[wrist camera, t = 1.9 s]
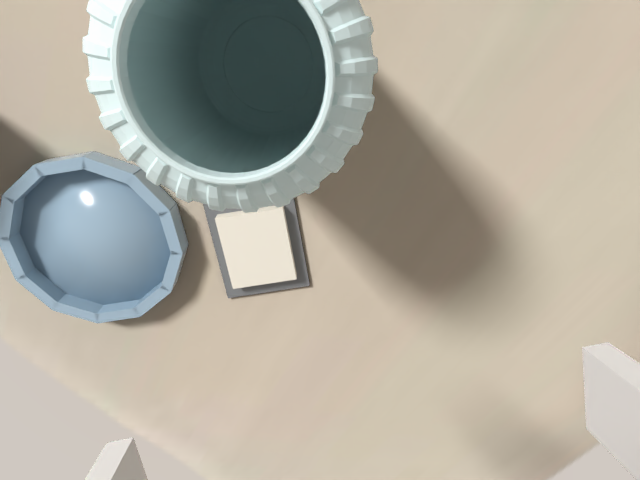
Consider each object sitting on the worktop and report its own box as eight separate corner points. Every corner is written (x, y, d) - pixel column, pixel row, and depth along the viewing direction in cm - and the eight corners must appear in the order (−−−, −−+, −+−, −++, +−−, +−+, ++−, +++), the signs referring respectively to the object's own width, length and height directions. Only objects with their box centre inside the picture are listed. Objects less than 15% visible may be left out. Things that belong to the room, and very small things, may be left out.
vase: (237, 158, 39) (161, 273, 18) (170, 22, 35) (-25, -28, 14) (361, 105, 38) (430, 165, 17) (307, -43, 33) (312, -203, 13)
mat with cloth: (203, 199, 40) (199, 204, 39) (291, 184, 40) (291, 190, 38) (228, 296, 44) (226, 304, 42) (309, 283, 44) (309, 291, 42)
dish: (-16, 169, 38) (-34, 175, 36) (158, 140, 38) (150, 145, 36) (51, 319, 44) (39, 332, 42) (203, 296, 44) (198, 308, 42)
